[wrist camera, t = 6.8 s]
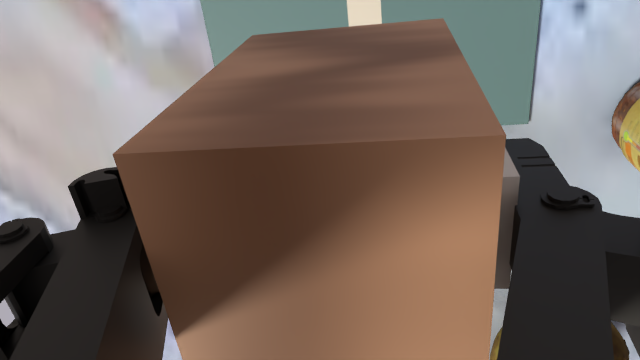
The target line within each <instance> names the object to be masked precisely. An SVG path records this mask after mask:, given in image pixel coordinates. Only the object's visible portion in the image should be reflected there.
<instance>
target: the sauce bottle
mask: <svg viewBox="0 0 640 360" xmlns="http://www.w3.org/2000/svg"><path fill="white" fill-rule="evenodd" d="M612 134H613V137H614V139H615V141H616V143H617V144H618V146H619V147H620V148H621V150H622V152H623V154H624V156H625V157H626V159H627V160H628V161H629V162H630V163H631V164H632V165H633V166H634V167H635V168H636V169H638V170H639V171H640V82H639V83H637V84H635V85H634V86H633V87H632V89H630V90H629V91H628V92H627V93H625V95H624V97H623V98H622V100H621V101H620V102H619V104H618V105H617V107H616V109H615V111H614V114H613V117H612Z"/></svg>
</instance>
